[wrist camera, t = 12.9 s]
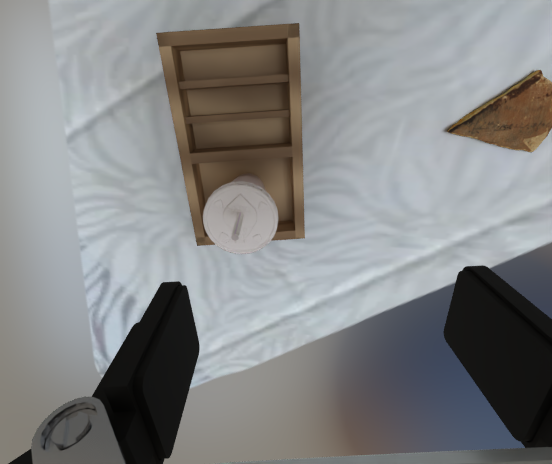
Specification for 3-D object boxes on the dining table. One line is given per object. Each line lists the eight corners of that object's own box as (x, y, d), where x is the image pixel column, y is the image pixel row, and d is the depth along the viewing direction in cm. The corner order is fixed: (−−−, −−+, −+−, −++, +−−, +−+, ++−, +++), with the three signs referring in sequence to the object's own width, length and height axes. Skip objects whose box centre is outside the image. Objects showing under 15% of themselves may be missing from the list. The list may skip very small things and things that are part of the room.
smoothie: (277, 162, 33) (283, 203, 20) (274, 217, 35) (277, 284, 22) (218, 159, 32) (185, 199, 20) (220, 214, 35) (191, 281, 22)
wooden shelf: (170, 41, 29) (156, 32, 25) (294, 32, 29) (299, 23, 25) (203, 231, 37) (197, 245, 33) (300, 224, 37) (304, 238, 33)
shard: (439, 130, 33) (448, 132, 32) (473, 53, 30) (485, 51, 29) (524, 153, 35) (537, 156, 33) (564, 81, 32) (581, 81, 30)
